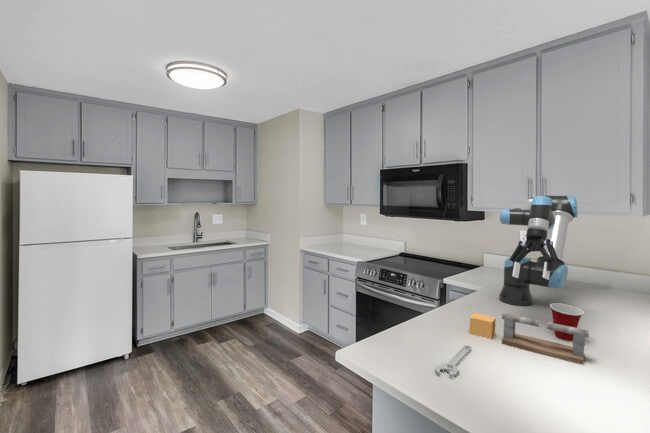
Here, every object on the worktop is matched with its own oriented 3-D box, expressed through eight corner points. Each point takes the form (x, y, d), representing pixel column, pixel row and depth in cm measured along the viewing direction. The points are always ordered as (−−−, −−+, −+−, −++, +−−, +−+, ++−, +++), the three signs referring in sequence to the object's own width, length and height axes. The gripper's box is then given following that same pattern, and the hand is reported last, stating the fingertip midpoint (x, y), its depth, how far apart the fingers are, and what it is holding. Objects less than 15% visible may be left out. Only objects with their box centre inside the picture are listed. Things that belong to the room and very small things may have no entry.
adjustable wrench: (464, 348, 120) (464, 343, 120) (483, 354, 116) (483, 350, 116) (431, 374, 103) (431, 368, 103) (451, 382, 98) (452, 376, 98)
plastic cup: (567, 345, 122) (569, 313, 122) (541, 333, 133) (543, 304, 132) (589, 342, 125) (591, 311, 124) (562, 330, 136) (563, 302, 135)
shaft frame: (504, 334, 132) (505, 309, 131) (587, 354, 115) (589, 326, 115) (498, 343, 124) (500, 316, 123) (587, 365, 107) (588, 335, 107)
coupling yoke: (473, 328, 137) (474, 313, 137) (495, 333, 132) (495, 317, 132) (469, 333, 132) (470, 317, 132) (491, 339, 127) (491, 322, 127)
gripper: (506, 229, 153) (498, 273, 148) (560, 224, 130) (553, 276, 125) (517, 235, 155) (510, 279, 150) (573, 230, 132) (566, 282, 127)
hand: (529, 277), depth 137 cm, fingers open, 13 cm apart
